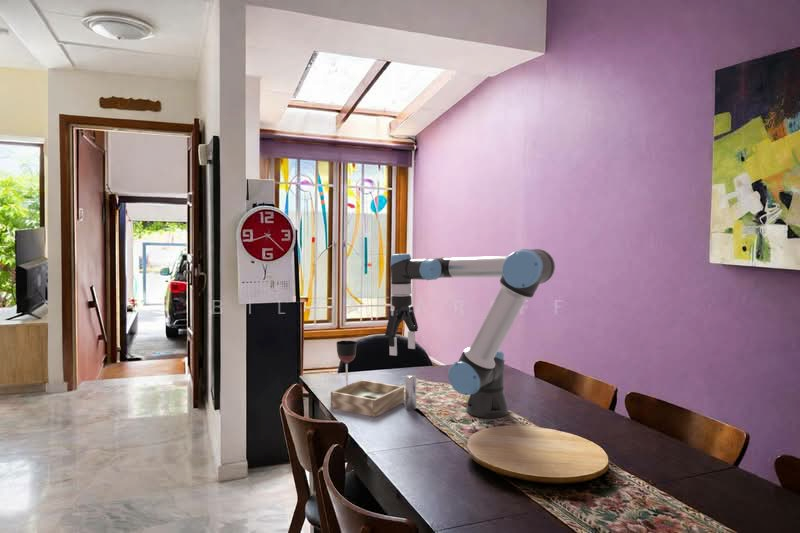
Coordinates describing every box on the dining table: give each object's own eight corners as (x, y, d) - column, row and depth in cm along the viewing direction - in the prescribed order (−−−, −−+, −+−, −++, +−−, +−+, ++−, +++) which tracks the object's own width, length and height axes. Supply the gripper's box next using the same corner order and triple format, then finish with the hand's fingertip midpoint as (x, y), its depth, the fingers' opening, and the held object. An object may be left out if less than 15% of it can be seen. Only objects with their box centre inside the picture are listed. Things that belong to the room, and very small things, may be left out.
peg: (418, 407, 198) (418, 376, 197) (412, 410, 194) (412, 378, 194) (408, 405, 200) (408, 374, 199) (403, 408, 196) (403, 377, 196)
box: (403, 402, 204) (403, 386, 204) (375, 416, 187) (375, 400, 187) (361, 394, 215) (361, 379, 214) (330, 407, 198) (330, 391, 197)
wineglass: (348, 393, 215) (347, 345, 214) (332, 390, 221) (332, 342, 220) (360, 389, 222) (360, 342, 221) (345, 385, 227) (345, 339, 226)
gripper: (409, 292, 209) (410, 345, 210) (374, 298, 188) (376, 357, 188) (425, 292, 205) (427, 346, 206) (392, 298, 184) (394, 359, 185)
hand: (402, 351), depth 197 cm, fingers open, 13 cm apart
